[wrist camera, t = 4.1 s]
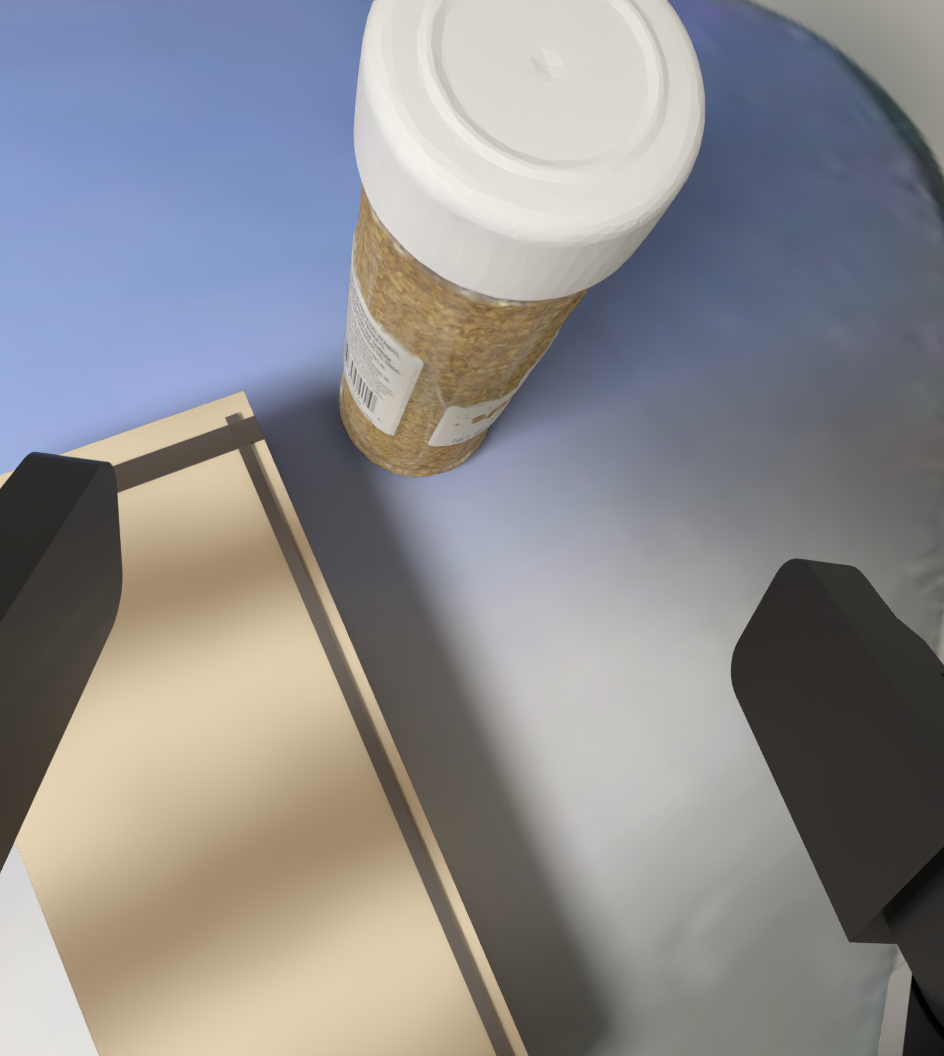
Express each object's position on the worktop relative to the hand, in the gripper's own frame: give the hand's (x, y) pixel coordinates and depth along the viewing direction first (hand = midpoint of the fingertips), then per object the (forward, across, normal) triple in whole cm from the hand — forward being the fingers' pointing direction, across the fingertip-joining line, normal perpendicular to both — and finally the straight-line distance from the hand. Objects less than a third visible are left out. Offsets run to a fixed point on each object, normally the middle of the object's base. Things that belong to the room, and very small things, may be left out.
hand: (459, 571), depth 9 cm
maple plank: (+5, +3, +13) cm, 14 cm away
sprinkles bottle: (+13, 0, +4) cm, 14 cm away
